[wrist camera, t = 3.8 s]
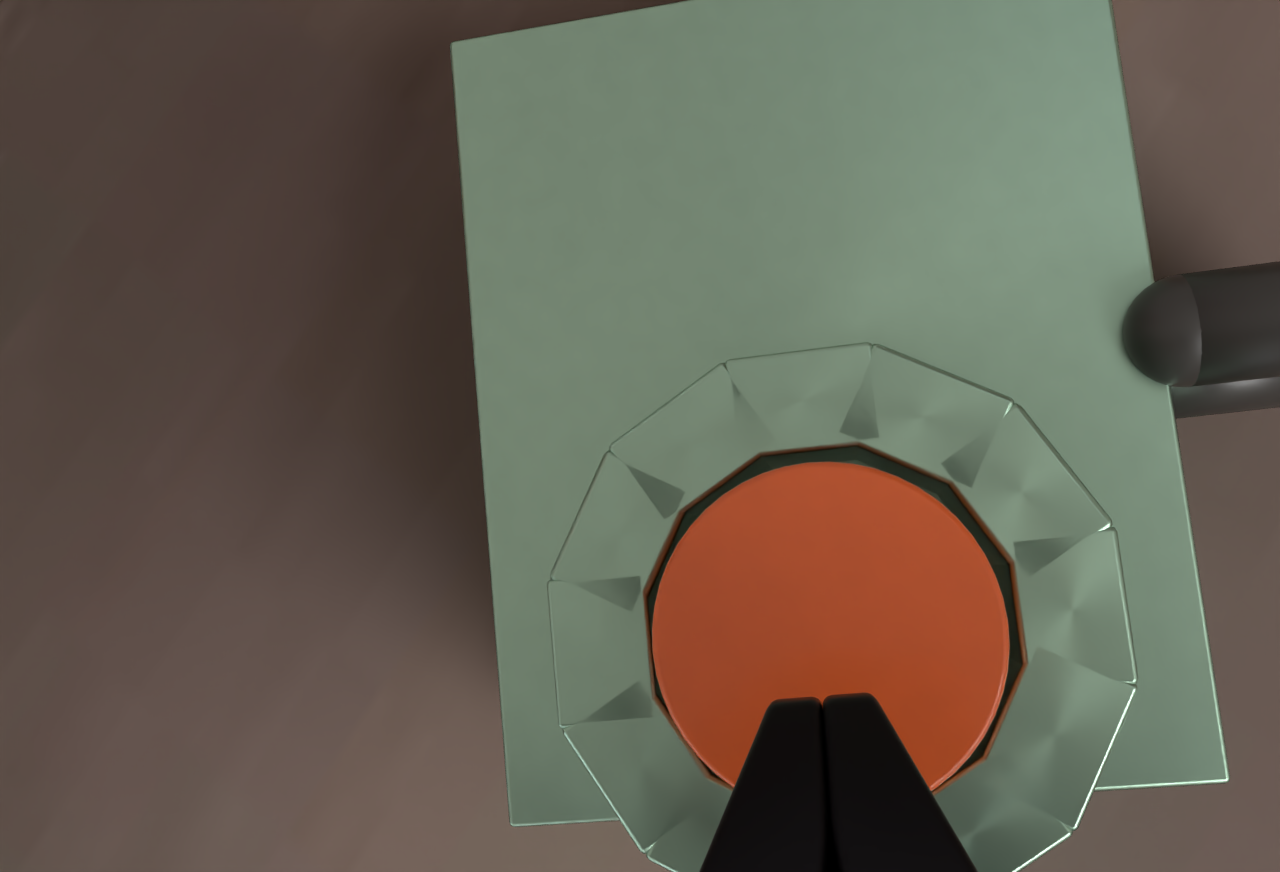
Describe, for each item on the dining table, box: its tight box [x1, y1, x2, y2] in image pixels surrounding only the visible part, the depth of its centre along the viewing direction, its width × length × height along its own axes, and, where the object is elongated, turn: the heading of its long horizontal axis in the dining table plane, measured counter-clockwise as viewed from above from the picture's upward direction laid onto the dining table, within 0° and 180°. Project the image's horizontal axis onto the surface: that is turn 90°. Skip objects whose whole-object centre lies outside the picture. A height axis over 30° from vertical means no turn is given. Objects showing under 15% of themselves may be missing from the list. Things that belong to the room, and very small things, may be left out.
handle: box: [1123, 262, 1280, 418], centre depth 16 cm, size 1×4×5 cm, turn 95°
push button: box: [652, 461, 1010, 791], centre depth 13 cm, size 4×4×2 cm
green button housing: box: [450, 0, 1230, 872], centre depth 17 cm, size 12×9×8 cm
